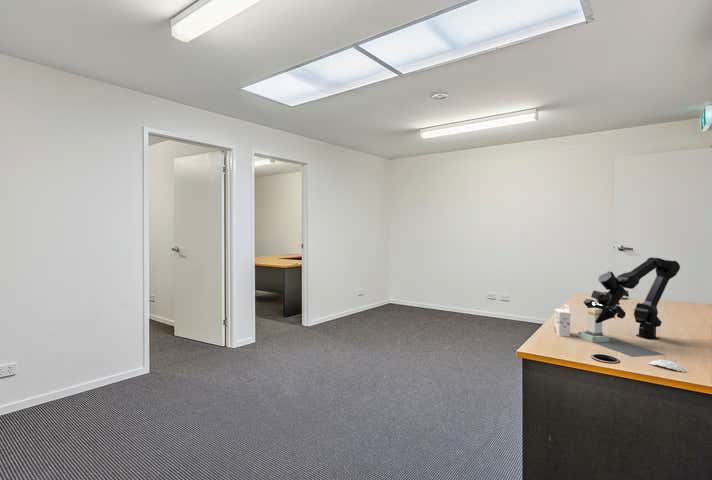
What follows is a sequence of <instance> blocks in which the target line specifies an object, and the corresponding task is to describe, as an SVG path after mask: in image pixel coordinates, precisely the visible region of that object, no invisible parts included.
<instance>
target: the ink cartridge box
mask: <svg viewBox="0 0 712 480" xmlns="http://www.w3.org/2000/svg"><path fill="white" fill-rule="evenodd" d="M553 330H554V331H553V332H554V333H556V335H557V336H559V337H571V306H570V305H568V304H567V303H564V308H554V326H553Z"/></svg>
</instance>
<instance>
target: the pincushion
mask: <svg viewBox="0 0 712 480" xmlns="http://www.w3.org/2000/svg"><path fill="white" fill-rule="evenodd" d="M663 356H664V359H655V360H652V361H649V362H648V364H650V365H653V366H659V367H663V368H665V369H670V370H675V371H677V372H680V371H681V373H688V372H689V371H688V370H687V369H686V368H685V367H684V366H682V365H680V364H678V363H677V362H676V361H673V360H667V359H666V354H665V355H663Z"/></svg>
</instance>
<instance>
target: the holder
mask: <svg viewBox="0 0 712 480" xmlns="http://www.w3.org/2000/svg"><path fill="white" fill-rule="evenodd" d="M578 337H579V338H578ZM578 337H577V338H578V339H581V338H582V339H581V340H583V339H585V340H584V341H586V340H588V341H587V342H589V341H590V342H589V343H592V342H593V343H592V344H595V343H597V342H609V337H610V335H605V336H591V335H588V334H586V331H578Z"/></svg>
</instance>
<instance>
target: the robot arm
mask: <svg viewBox="0 0 712 480" xmlns="http://www.w3.org/2000/svg"><path fill="white" fill-rule="evenodd" d="M680 269H681V266H680V264H679V262H678V261H676V260H668V259H667V260H666V259H663V258H660V257H649V258H647V259H646V260H645V261H644V262H642V263H641V264H640V265H638V266H637V267H635V268H634V269H632V270H631V271H628V272H623V273H622V274H619V275H617V277H616V275H615V274H614V273H613V271H607V272H604V273H603V274H601V275H599V276H598V277H597V278H598V280H597V281H598V282H599V283H600V284H601V285H602V287H603V288H604V289H605V290H608V291H604V292H603V291H602V292H601V291H598V290H593V291H592V293H591V296H590V297H591V298H593V299H590V298H585V300H584V301H583V304H584V305H585V306H586V308H587V309H588V308H598V309H602V313H601V314H600V316H599V317H598V318H597V320H596V323H600V322H602V323H603V322H605V321H608V320H610V319H611V320H612V319H615V318H616V317H617V318H619V319H624V318H625V317H626V311H625V310H624V309H623V308H622V306H620V304H621V303H620V301H621V300H622V298H623V297H627V298H628V297H630V294H629V290H630V289H633V290H634V289H635V287H637V286H638V284H639V283H640V280H641V279H642V278H643V277H645V276H646V275H648V274H649V273H651V272H652V271H654V270H655V273H656V277H655V279H654V280H653V283H652V285H651V287H650V289H649V291H648V293H647V295H646V297H645V299H644V301H643V302H642V303H641V302H638V303H637V304H636V306H635V308H634V309H633V311H634V312H633V316H634V319H635V323H636V324H637V323H638V324H639V326H638V334H636V337H640V338H643V339H645V340H655V339H656V340H657V339H660V337H659V336H657V328H658V327H661V325H662V323H663V322H662V321H661V320H660V318H659V317H658V313H659V312H658V308H657V307H658V304H659V302H660V300H661V298H662V295H663V293H664V291H665V289H666V288H667V285H668V283H669V281H670V280H671V279H673V278H674V277H675V276H677V274H678V273H679V271H680ZM626 289H629V290H626ZM595 300H596V301H595ZM596 302H597V303H596Z"/></svg>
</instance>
